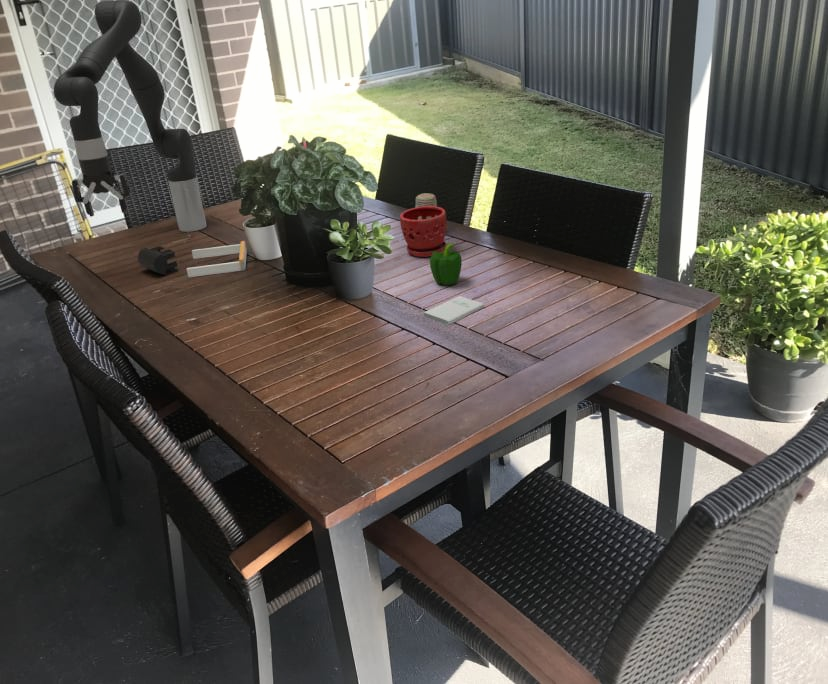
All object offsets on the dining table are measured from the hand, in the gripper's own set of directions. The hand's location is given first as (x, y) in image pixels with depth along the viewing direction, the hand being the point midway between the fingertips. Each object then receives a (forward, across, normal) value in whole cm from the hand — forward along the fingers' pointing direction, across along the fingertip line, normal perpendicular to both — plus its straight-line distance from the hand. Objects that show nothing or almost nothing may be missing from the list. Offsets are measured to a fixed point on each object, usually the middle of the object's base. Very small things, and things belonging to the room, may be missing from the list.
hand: (108, 213), depth 203 cm
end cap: (+19, -10, 0) cm, 21 cm away
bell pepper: (+19, -87, +39) cm, 97 cm away
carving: (+19, -91, -3) cm, 93 cm away
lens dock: (+19, -27, 0) cm, 33 cm away
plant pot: (+19, -87, +14) cm, 90 cm away
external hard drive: (+20, -84, +57) cm, 104 cm away
